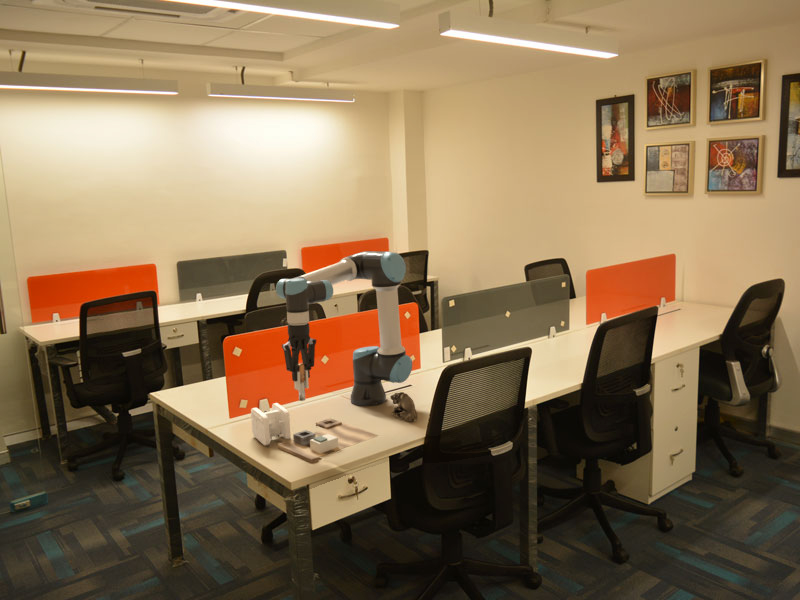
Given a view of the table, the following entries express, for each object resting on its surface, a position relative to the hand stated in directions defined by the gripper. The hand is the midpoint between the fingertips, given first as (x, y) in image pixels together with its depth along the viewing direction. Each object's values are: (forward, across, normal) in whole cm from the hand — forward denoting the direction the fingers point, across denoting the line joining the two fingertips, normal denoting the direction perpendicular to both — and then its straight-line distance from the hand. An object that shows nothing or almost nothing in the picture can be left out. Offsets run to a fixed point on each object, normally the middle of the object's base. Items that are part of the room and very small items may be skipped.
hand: (301, 388), depth 243 cm
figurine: (+21, -44, +6) cm, 49 cm away
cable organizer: (+21, +5, -14) cm, 26 cm away
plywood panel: (+21, -7, +5) cm, 23 cm away
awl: (+4, 0, 0) cm, 4 cm away
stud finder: (+20, -1, +10) cm, 22 cm away
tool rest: (+21, -17, -8) cm, 28 cm away
